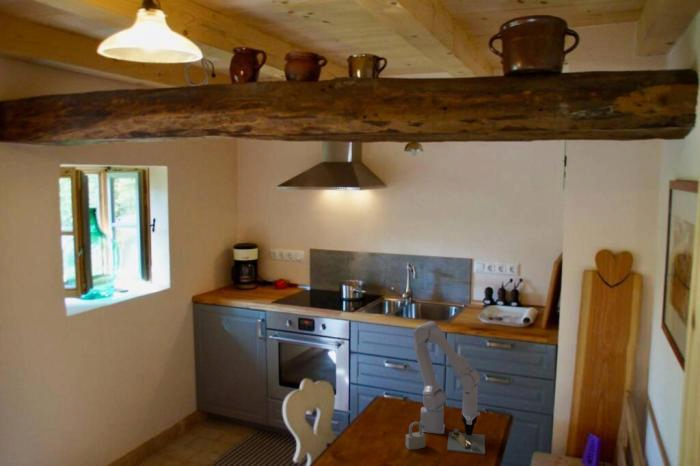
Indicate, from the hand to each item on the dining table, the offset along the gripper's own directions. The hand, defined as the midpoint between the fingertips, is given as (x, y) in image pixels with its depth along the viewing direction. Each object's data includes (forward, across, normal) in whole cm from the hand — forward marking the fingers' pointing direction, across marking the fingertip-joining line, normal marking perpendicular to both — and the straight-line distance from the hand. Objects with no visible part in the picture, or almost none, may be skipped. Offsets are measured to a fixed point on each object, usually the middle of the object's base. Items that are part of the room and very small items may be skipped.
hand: (469, 434), depth 225 cm
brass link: (+1, -4, +3) cm, 5 cm away
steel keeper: (+1, -8, -1) cm, 8 cm away
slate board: (+2, -4, +1) cm, 4 cm away
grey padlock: (+2, -11, +20) cm, 23 cm away
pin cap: (0, 0, +5) cm, 5 cm away
